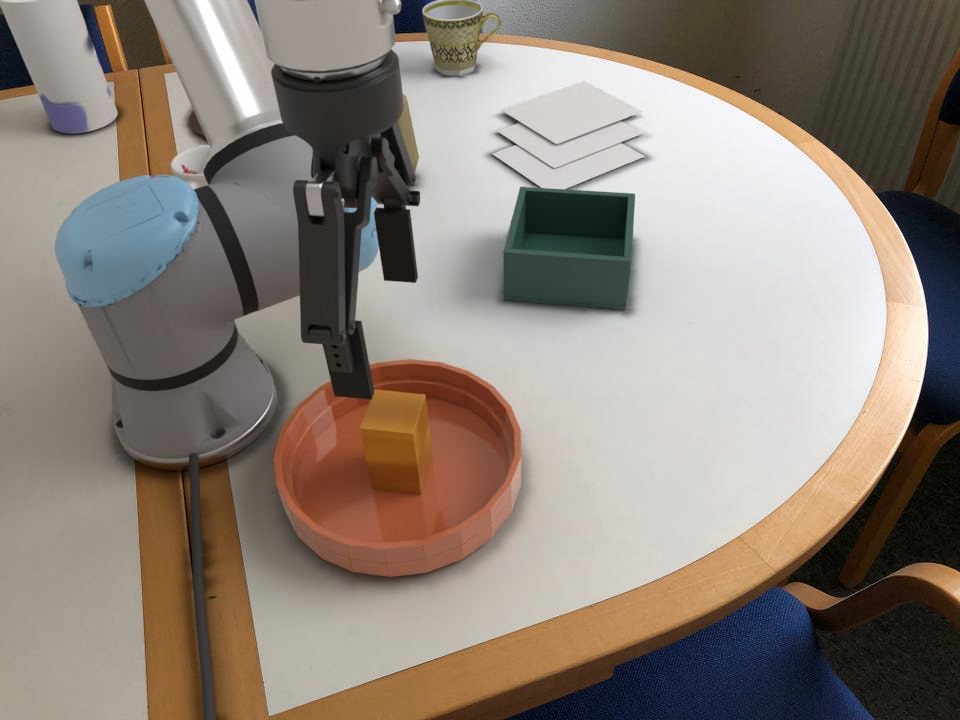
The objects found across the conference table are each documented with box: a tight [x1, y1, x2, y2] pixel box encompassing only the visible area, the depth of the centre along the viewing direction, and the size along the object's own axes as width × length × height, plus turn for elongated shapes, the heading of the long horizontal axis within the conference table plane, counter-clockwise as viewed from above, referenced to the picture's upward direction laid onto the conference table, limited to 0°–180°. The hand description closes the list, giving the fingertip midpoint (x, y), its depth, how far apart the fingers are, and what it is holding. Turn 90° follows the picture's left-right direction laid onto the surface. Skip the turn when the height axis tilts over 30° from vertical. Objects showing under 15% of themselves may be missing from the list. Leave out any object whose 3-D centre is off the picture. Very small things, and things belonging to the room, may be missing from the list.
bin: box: [502, 186, 636, 311], centre depth 91 cm, size 14×14×7 cm
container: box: [0, 0, 119, 135], centre depth 120 cm, size 10×10×20 cm
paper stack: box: [492, 80, 645, 190], centre depth 117 cm, size 23×25×1 cm
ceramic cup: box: [421, 0, 502, 77], centre depth 133 cm, size 13×10×10 cm
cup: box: [169, 144, 210, 189], centre depth 101 cm, size 11×8×8 cm
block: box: [360, 390, 432, 494], centre depth 68 cm, size 4×4×8 cm
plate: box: [188, 109, 205, 137], centre depth 126 cm, size 28×28×4 cm
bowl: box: [273, 358, 522, 578], centre depth 70 cm, size 21×21×4 cm
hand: (379, 332), depth 61 cm, fingers open, 13 cm apart
